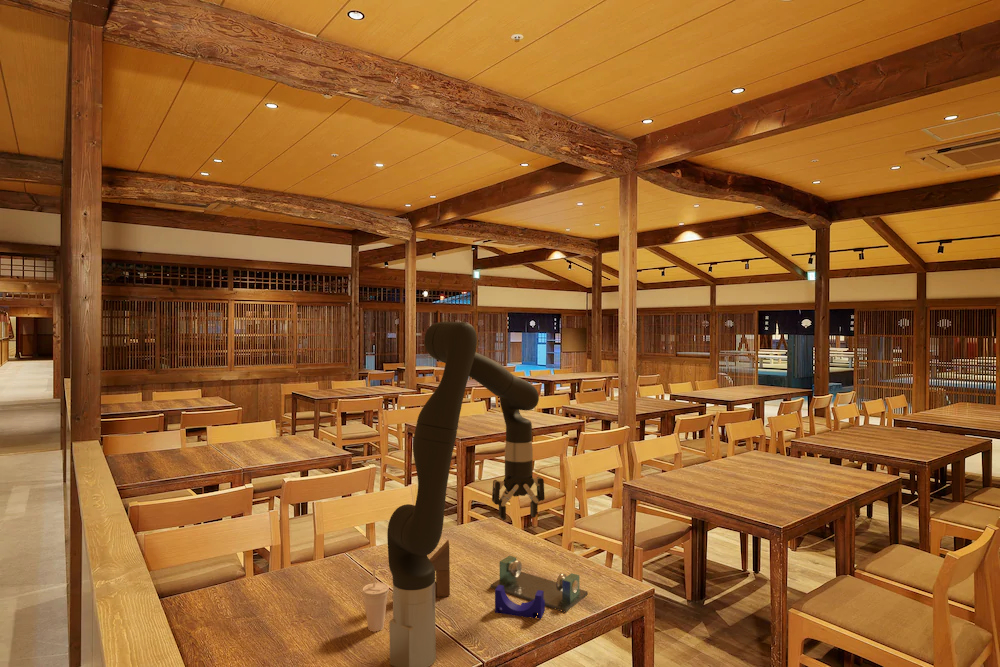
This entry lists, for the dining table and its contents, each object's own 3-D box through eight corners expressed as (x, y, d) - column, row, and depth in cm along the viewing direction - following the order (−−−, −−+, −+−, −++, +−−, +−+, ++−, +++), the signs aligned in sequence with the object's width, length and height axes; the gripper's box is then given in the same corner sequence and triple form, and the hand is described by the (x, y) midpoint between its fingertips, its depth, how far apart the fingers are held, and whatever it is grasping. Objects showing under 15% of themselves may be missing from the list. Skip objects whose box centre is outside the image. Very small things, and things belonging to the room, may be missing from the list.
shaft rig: (565, 612, 142) (565, 587, 142) (490, 587, 157) (490, 564, 157) (587, 594, 152) (587, 570, 152) (514, 572, 166) (514, 550, 166)
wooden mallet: (449, 596, 152) (449, 530, 151) (409, 599, 150) (409, 532, 150) (449, 590, 155) (448, 525, 155) (409, 593, 154) (409, 527, 153)
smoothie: (378, 618, 140) (377, 562, 140) (394, 626, 136) (394, 569, 136) (356, 628, 135) (356, 571, 135) (373, 637, 131) (373, 578, 131)
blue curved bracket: (544, 611, 144) (544, 588, 144) (541, 620, 139) (541, 596, 139) (500, 605, 147) (500, 582, 147) (495, 613, 143) (494, 590, 143)
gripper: (497, 462, 145) (497, 524, 145) (548, 458, 150) (548, 519, 150) (489, 456, 152) (489, 516, 152) (538, 453, 157) (537, 511, 157)
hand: (518, 517), depth 151 cm, fingers open, 8 cm apart
